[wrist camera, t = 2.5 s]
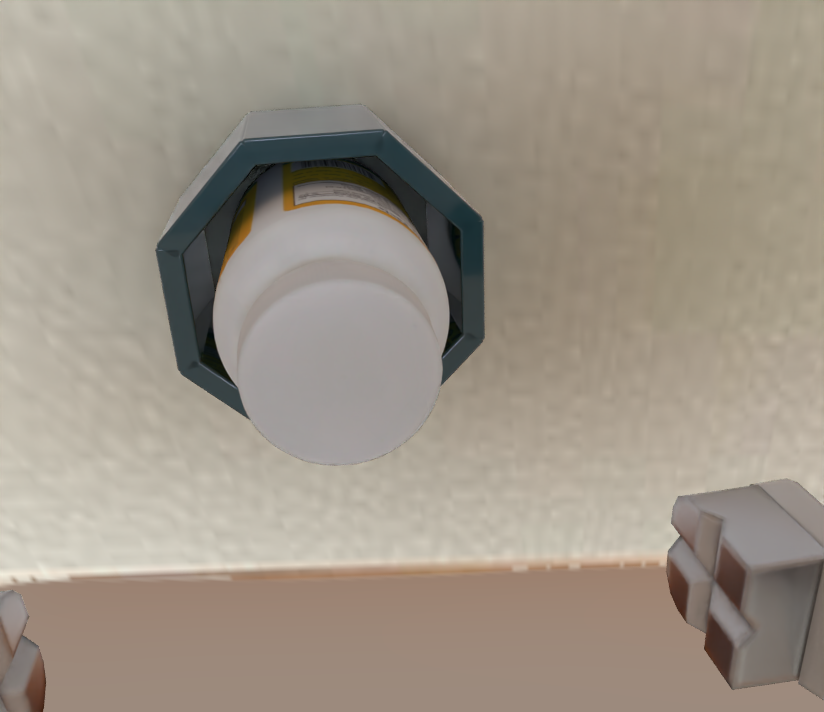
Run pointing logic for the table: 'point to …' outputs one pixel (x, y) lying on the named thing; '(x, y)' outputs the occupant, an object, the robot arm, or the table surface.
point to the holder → (295, 142)
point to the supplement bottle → (330, 313)
